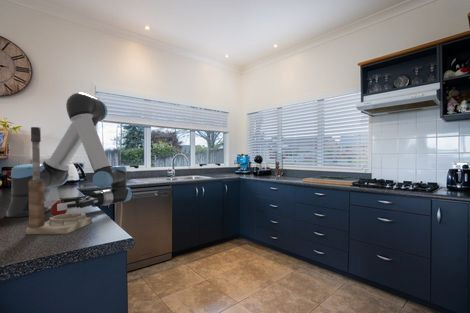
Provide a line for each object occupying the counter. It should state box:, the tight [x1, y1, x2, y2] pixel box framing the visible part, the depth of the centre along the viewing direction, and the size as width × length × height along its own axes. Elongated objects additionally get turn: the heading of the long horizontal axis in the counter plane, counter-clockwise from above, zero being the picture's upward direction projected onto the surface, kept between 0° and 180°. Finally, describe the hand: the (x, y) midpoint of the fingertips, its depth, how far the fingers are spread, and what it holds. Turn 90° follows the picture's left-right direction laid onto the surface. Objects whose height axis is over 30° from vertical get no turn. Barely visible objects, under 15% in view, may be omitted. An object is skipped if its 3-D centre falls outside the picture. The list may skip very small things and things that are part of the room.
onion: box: [49, 200, 68, 217], centre depth 104 cm, size 6×6×8 cm
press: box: [25, 126, 92, 235], centre depth 90 cm, size 14×14×37 cm
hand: (50, 205), depth 102 cm, fingers open, 13 cm apart
